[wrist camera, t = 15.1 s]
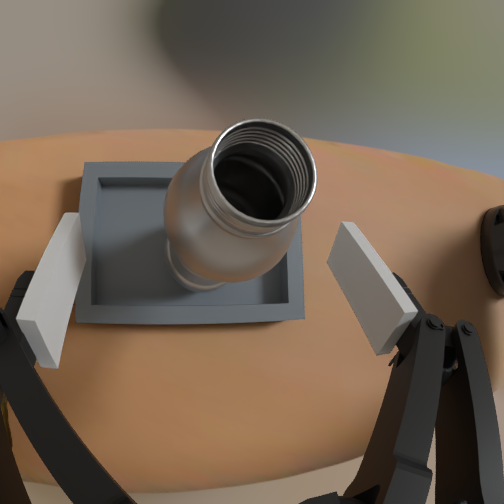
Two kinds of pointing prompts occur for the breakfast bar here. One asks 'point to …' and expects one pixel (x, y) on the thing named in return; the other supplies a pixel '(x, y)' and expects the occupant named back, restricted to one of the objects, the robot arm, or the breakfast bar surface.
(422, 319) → the robot arm
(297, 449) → the breakfast bar surface
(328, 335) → the breakfast bar surface
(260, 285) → the tray
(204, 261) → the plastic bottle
